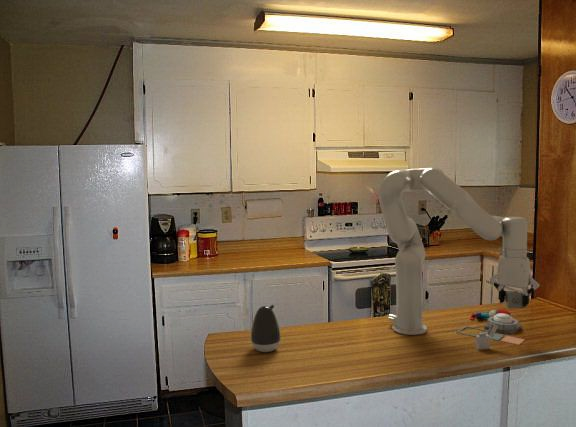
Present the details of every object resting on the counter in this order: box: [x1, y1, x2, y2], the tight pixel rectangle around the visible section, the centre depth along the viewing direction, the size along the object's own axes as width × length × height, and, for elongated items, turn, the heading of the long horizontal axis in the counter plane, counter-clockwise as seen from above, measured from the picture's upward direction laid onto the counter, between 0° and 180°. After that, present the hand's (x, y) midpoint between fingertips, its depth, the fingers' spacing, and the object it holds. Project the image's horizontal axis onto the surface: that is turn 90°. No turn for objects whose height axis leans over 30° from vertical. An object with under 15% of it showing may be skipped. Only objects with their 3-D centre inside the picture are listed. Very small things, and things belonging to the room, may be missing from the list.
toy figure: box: [469, 308, 512, 321], centre depth 192 cm, size 8×5×15 cm
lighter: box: [475, 324, 498, 351], centre depth 163 cm, size 7×2×8 cm, turn 101°
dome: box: [494, 313, 513, 324], centre depth 182 cm, size 6×6×4 cm
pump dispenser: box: [250, 304, 282, 353], centre depth 166 cm, size 10×10×15 cm
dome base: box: [483, 316, 522, 335], centre depth 182 cm, size 10×10×3 cm
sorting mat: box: [456, 325, 525, 346], centre depth 174 cm, size 21×8×1 cm, turn 47°
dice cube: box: [504, 290, 525, 309], centre depth 168 cm, size 5×5×5 cm
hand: (513, 303), depth 168 cm, fingers closed on dice cube, 6 cm apart
